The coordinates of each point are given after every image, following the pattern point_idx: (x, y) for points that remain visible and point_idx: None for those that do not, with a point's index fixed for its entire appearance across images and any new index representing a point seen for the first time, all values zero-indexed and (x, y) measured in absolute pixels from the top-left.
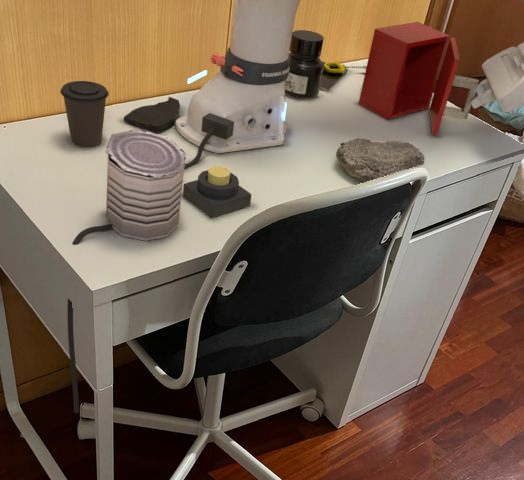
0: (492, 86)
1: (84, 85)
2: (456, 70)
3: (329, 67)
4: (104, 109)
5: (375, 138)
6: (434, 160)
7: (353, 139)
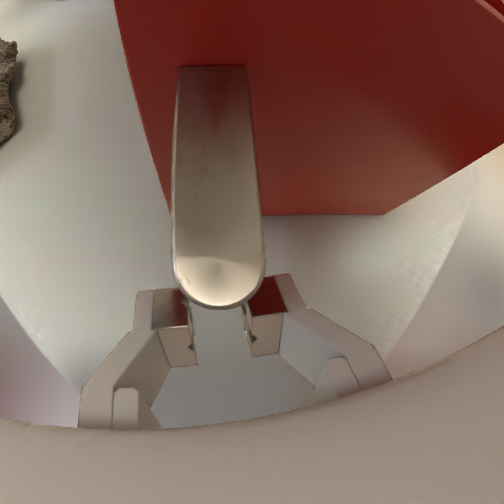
0: (62, 437)
1: None
2: (115, 9)
3: None
4: None
5: (101, 74)
6: (13, 218)
7: (11, 42)
